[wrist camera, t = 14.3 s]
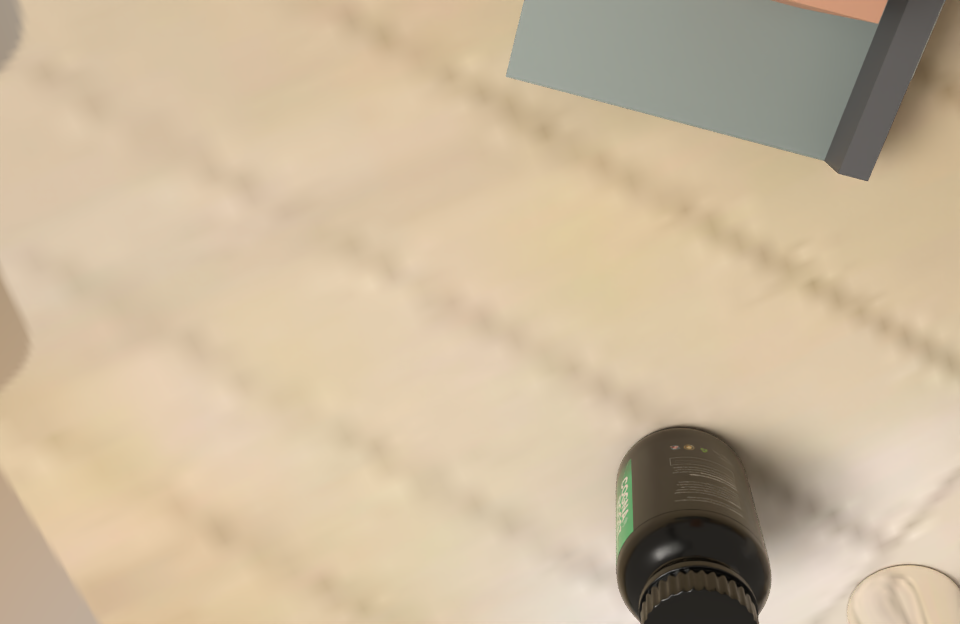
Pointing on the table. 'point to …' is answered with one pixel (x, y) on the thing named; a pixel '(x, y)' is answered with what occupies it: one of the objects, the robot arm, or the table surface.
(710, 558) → the supplement bottle
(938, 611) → the beer glass
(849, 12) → the tea box
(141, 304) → the table surface
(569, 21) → the display shelf
